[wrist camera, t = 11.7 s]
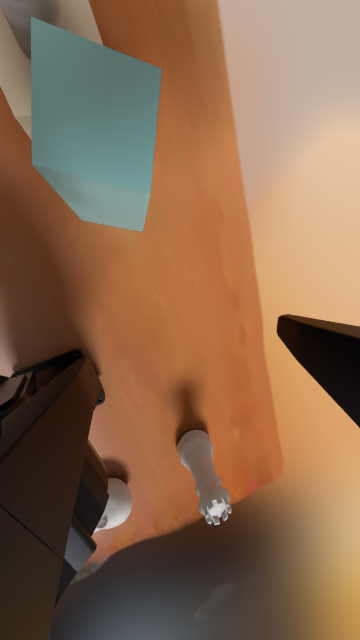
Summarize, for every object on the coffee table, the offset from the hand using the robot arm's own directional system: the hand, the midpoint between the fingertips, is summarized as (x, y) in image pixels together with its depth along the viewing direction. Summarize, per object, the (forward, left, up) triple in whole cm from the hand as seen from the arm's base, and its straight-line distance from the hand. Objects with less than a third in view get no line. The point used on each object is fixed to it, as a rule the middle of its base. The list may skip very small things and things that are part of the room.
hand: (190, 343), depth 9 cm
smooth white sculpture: (-15, -19, -12) cm, 27 cm away
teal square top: (0, +11, -12) cm, 16 cm away
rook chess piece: (-2, -18, -12) cm, 22 cm away
